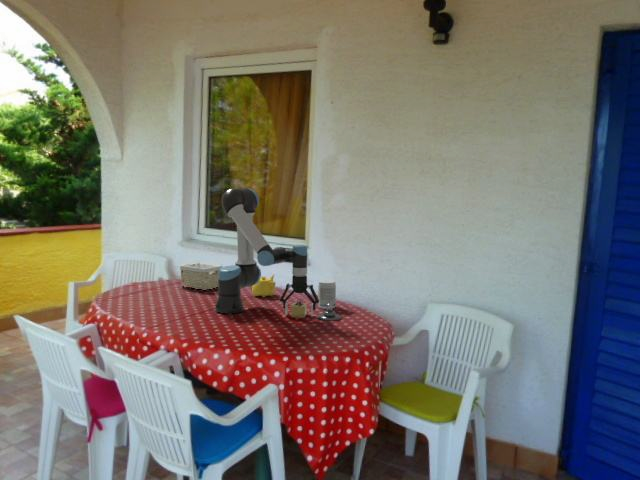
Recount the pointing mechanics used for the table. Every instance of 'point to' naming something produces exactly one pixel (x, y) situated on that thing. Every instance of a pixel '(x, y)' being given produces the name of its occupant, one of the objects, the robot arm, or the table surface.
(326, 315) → the hub
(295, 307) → the collar
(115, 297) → the table surface
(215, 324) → the table surface
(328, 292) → the supplement tub
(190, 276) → the storage basket
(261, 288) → the teapot
